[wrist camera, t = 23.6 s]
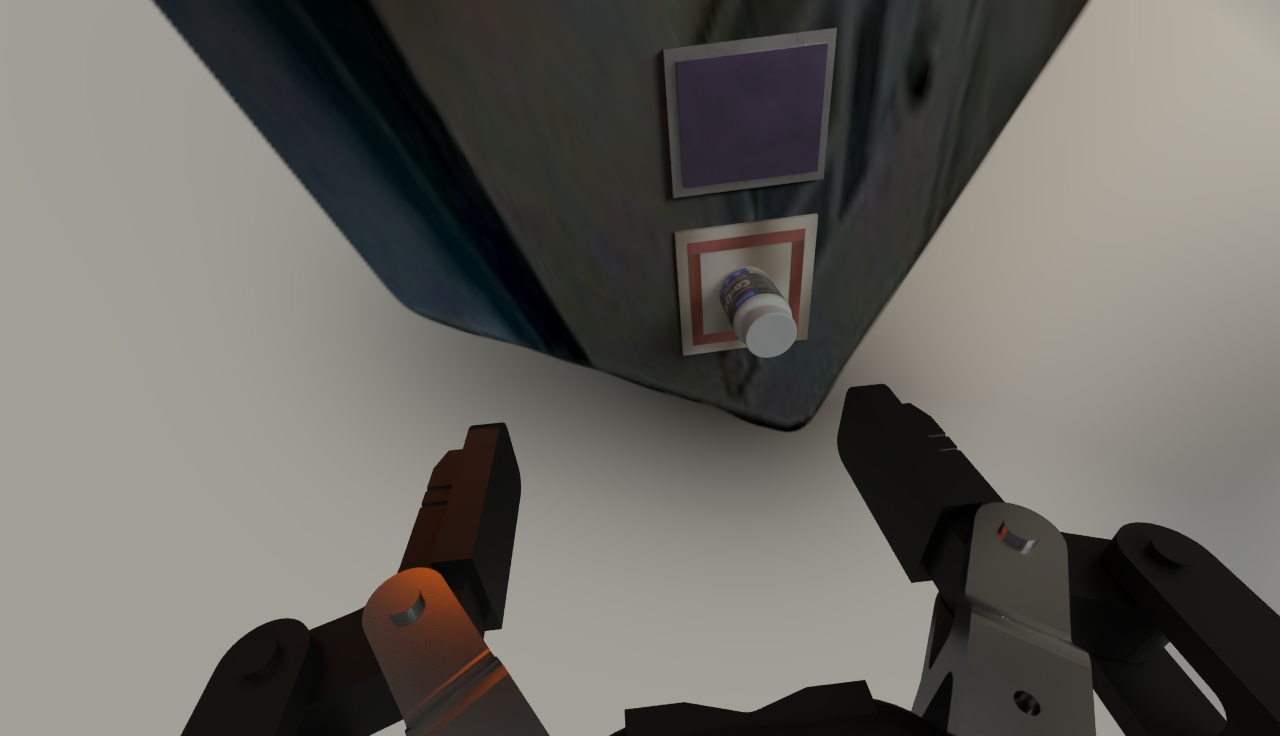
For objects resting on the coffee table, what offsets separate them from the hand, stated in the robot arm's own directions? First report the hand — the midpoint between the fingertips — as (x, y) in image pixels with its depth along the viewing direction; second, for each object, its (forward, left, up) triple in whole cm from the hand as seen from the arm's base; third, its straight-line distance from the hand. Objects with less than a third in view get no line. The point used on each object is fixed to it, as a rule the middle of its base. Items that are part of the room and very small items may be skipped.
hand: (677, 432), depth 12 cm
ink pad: (+3, +10, -32) cm, 34 cm away
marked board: (+15, +3, -32) cm, 36 cm away
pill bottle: (+15, +2, -32) cm, 36 cm away
